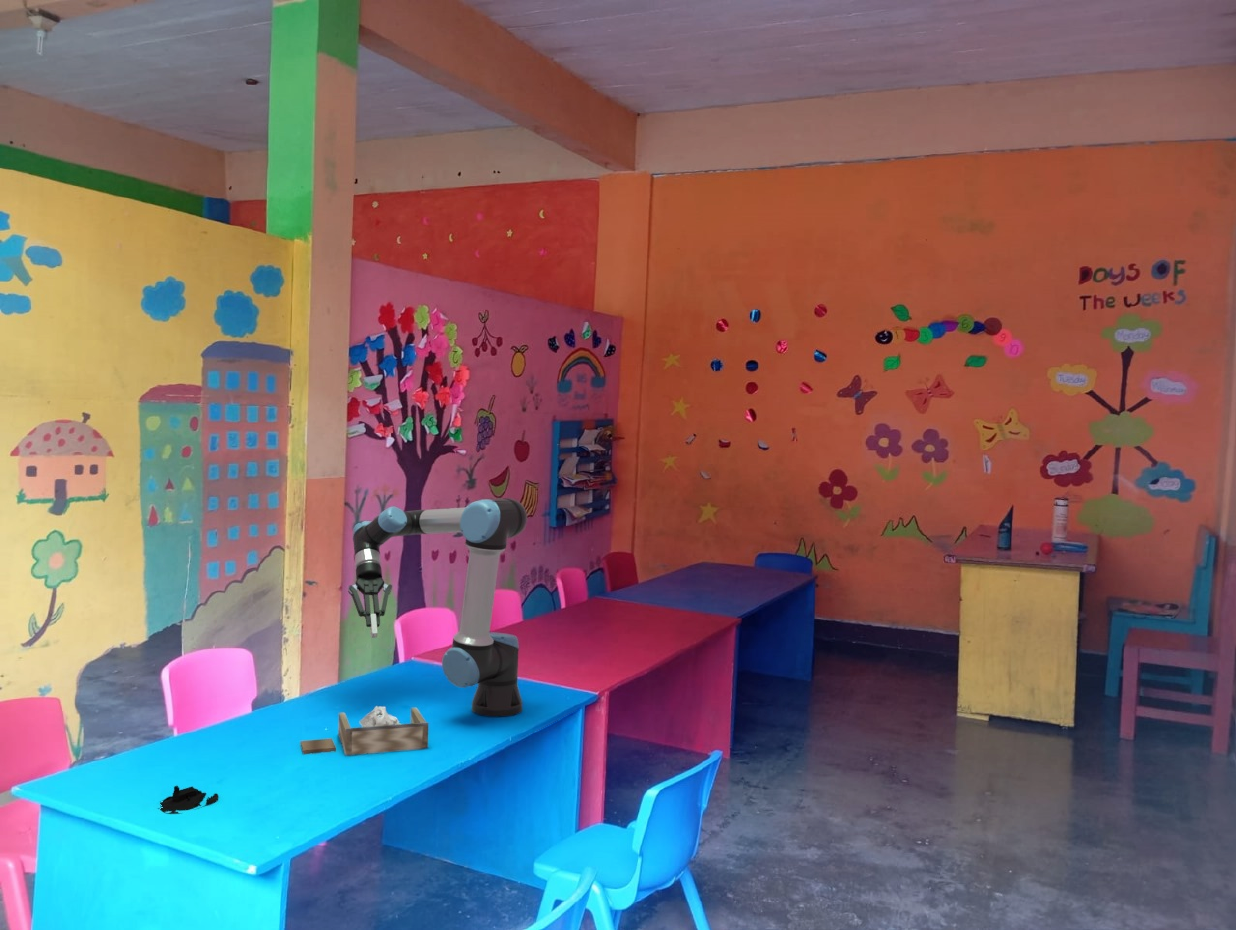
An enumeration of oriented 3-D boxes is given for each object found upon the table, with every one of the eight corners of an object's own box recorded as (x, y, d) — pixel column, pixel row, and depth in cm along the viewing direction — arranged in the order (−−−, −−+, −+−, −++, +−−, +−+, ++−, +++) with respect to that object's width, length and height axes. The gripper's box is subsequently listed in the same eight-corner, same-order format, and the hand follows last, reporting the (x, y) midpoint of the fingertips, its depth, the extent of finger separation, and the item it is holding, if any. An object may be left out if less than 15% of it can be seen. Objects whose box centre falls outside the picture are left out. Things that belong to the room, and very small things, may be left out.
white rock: (407, 734, 262) (381, 710, 260) (383, 759, 261) (357, 735, 259) (407, 721, 274) (382, 698, 272) (384, 745, 272) (359, 722, 271)
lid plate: (331, 743, 263) (331, 738, 263) (335, 753, 256) (335, 747, 256) (300, 746, 260) (300, 741, 260) (303, 756, 253) (303, 750, 253)
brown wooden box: (415, 728, 277) (416, 704, 277) (427, 748, 261) (428, 722, 260) (338, 734, 269) (339, 710, 269) (345, 755, 253) (346, 729, 253)
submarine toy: (173, 819, 211) (174, 796, 210) (147, 808, 216) (147, 786, 216) (223, 803, 221) (223, 781, 220) (196, 793, 226) (197, 771, 226)
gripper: (388, 574, 305) (395, 641, 290) (344, 575, 300) (349, 643, 286) (391, 560, 299) (399, 627, 285) (347, 561, 295) (352, 629, 280)
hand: (374, 635), depth 285 cm, fingers closed
